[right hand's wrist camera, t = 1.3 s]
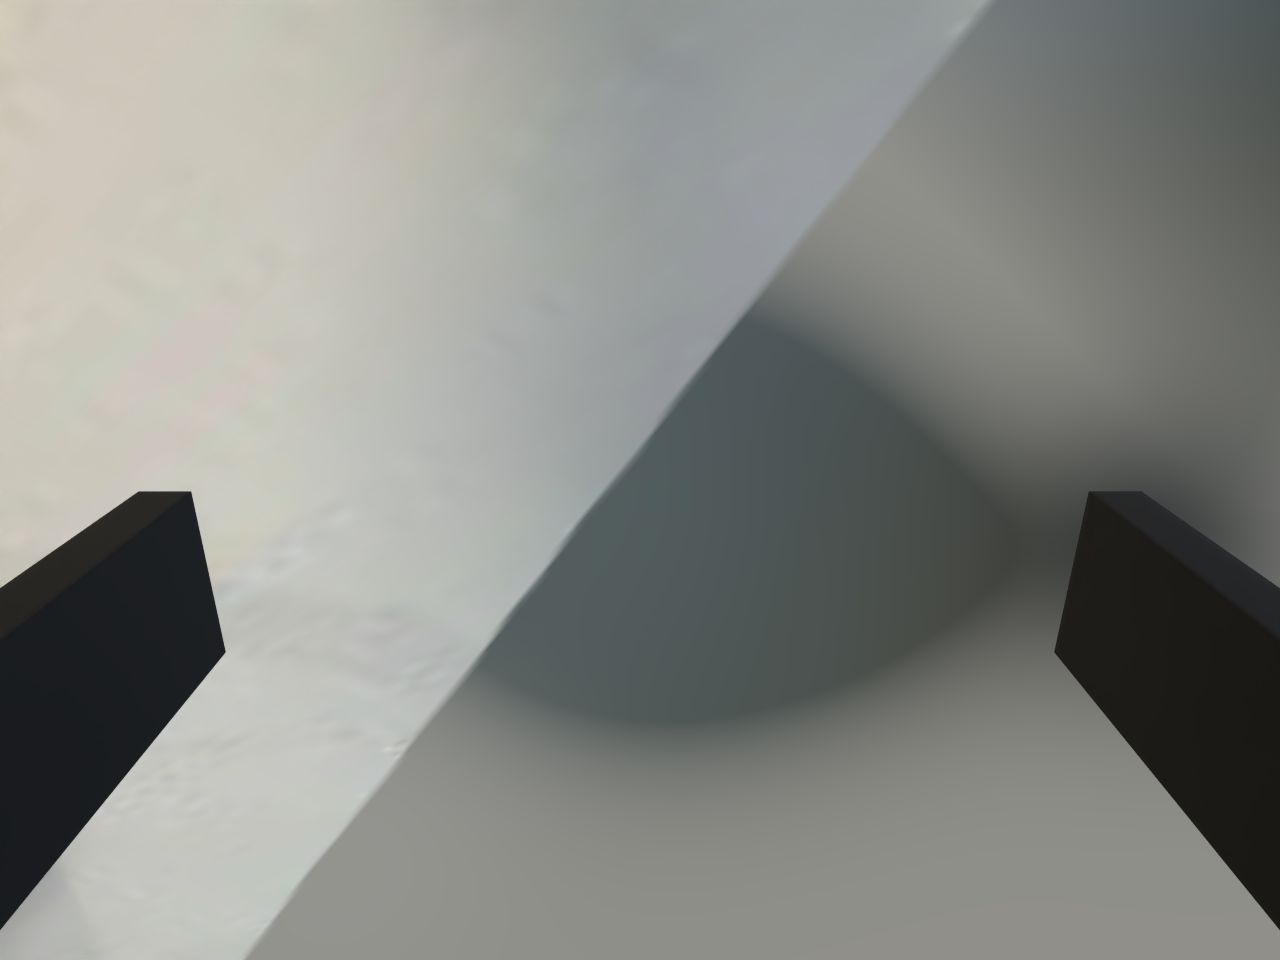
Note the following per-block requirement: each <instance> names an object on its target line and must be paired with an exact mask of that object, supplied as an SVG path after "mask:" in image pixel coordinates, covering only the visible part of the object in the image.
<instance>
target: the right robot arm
mask: <svg viewBox="0 0 1280 960" xmlns="http://www.w3.org/2000/svg"><path fill="white" fill-rule="evenodd" d="M225 652H226V651H225V647H224V642H223V638H222V633H221V628H220V624H219V619H218V614H217V610H216V605H215V600H214V596H213V591H212V586H211V582H210V577H209V572H208V568H207V563H206V558H205V554H204V549H203V545H202V540H201V535H200V531H199V526H198V521H197V517H196V512H195V507H194V503H193V498H192V493H191V492H137V493H136V494H134V495H133V496H132V497H130V498H129V499H127V500H126V501H124V502H123V503H122V504H120V505H119V506H117V507H116V508H114V509H113V510H112V511H110V512H109V513H107V514H106V515H104V516H103V517H101V518H100V519H99V520H97V521H96V522H94V523H93V524H91V525H90V526H89V527H87V528H86V529H84V530H83V531H81V532H80V533H79V534H77V535H76V536H74V537H73V538H71V539H70V540H69V541H67V542H66V543H64V544H63V545H61V546H60V547H59V548H57V549H56V550H54V551H53V552H51V553H50V554H49V555H47V556H46V557H44V558H43V559H41V560H40V561H38V562H37V563H36V564H34V565H33V566H31V567H30V568H28V569H27V570H26V571H24V572H23V573H21V574H20V575H18V576H17V577H16V578H14V579H13V580H11V581H10V582H8V583H7V584H6V585H4V586H3V587H1V588H0V930H1V928H2V927H3V926H4V925H5V923H6V922H7V921H8V920H9V919H10V917H11V916H12V915H13V914H14V912H15V911H16V910H17V909H18V907H19V906H20V905H21V904H22V903H23V901H24V900H25V899H26V898H27V896H28V895H29V894H30V893H31V891H32V890H33V889H34V888H35V887H36V885H37V884H38V883H39V882H40V880H41V879H42V878H43V877H44V875H45V874H46V873H47V872H48V870H49V869H50V868H51V867H52V866H53V864H54V863H55V862H56V861H57V859H58V858H59V857H60V856H61V854H62V853H63V852H64V851H65V850H66V848H67V847H68V846H69V845H70V843H71V842H72V841H73V840H74V838H75V837H76V836H77V835H78V834H79V832H80V831H81V830H82V829H83V827H84V826H85V825H86V824H87V822H88V821H89V820H90V819H91V817H92V816H93V815H94V814H95V813H96V811H97V810H98V809H99V808H100V806H101V805H102V804H103V803H104V801H105V800H106V799H107V798H108V797H109V795H110V794H111V793H112V792H113V790H114V789H115V788H116V787H117V785H118V784H119V783H120V782H121V781H122V779H123V778H124V777H125V776H126V774H127V773H128V772H129V771H130V769H131V768H132V767H133V766H134V765H135V763H136V762H137V761H138V760H139V758H140V757H141V756H142V755H143V753H144V752H145V751H146V750H147V748H148V747H149V746H150V745H151V744H152V742H153V741H154V740H155V739H156V737H157V736H158V735H159V734H160V732H161V731H162V730H163V729H164V728H165V726H166V725H167V724H168V723H169V721H170V720H171V719H172V718H173V716H174V715H175V714H176V713H177V712H178V710H179V709H180V708H181V707H182V705H183V704H184V703H185V702H186V700H187V699H188V698H189V697H190V695H191V694H192V693H193V692H194V691H195V689H196V688H197V687H198V686H199V684H200V683H201V682H202V681H203V679H204V678H205V677H206V676H207V675H208V673H209V672H210V671H211V670H212V668H213V667H214V666H215V665H216V663H217V662H218V661H219V660H220V659H221V657H222V656H223V655H224V654H225ZM1055 654H1056V655H1057V656H1058V657H1059V658H1060V660H1061V661H1062V662H1063V663H1064V665H1065V666H1066V667H1067V668H1068V670H1069V671H1070V672H1071V673H1072V674H1073V676H1074V677H1075V678H1076V679H1077V681H1078V682H1079V683H1080V684H1081V686H1082V687H1083V688H1084V689H1085V691H1086V692H1087V693H1088V694H1089V695H1090V697H1091V698H1092V699H1093V700H1094V702H1095V703H1096V704H1097V705H1098V707H1099V708H1100V709H1101V710H1102V711H1103V713H1104V714H1105V715H1106V716H1107V718H1108V719H1109V720H1110V721H1111V723H1112V724H1113V725H1114V726H1115V728H1116V729H1117V730H1118V731H1119V732H1120V734H1121V735H1122V736H1123V737H1124V739H1125V740H1126V741H1127V742H1128V744H1129V745H1130V746H1131V747H1132V748H1133V750H1134V751H1135V752H1136V753H1137V755H1138V756H1139V757H1140V758H1141V760H1142V761H1143V762H1144V763H1145V764H1146V766H1147V767H1148V768H1149V769H1150V771H1151V772H1152V773H1153V774H1154V775H1155V777H1156V778H1157V779H1158V781H1159V782H1160V783H1161V784H1162V785H1163V787H1164V788H1165V789H1166V790H1167V792H1168V793H1169V794H1170V795H1171V797H1172V798H1173V799H1174V800H1175V801H1176V803H1177V804H1178V805H1179V806H1180V808H1181V809H1182V810H1183V811H1184V813H1185V814H1186V815H1187V816H1188V817H1189V819H1190V820H1191V821H1192V822H1193V824H1194V825H1195V826H1196V827H1197V829H1198V830H1199V831H1200V832H1201V834H1202V835H1203V836H1204V837H1205V838H1206V840H1207V841H1208V842H1209V843H1210V845H1211V846H1212V847H1213V848H1214V850H1215V851H1216V852H1217V853H1218V854H1219V856H1220V857H1221V858H1222V859H1223V861H1224V862H1225V863H1226V864H1227V866H1228V867H1229V868H1230V869H1231V870H1232V872H1233V873H1234V874H1235V875H1236V877H1237V878H1238V879H1239V880H1240V882H1241V883H1242V884H1243V885H1244V886H1245V888H1246V889H1247V890H1248V891H1249V893H1250V894H1251V895H1252V896H1253V898H1254V899H1255V900H1256V901H1257V903H1258V904H1259V905H1260V906H1261V907H1262V909H1263V910H1264V911H1265V912H1266V914H1267V915H1268V916H1269V917H1270V919H1271V920H1272V921H1273V922H1274V923H1275V925H1276V926H1277V927H1278V928H1279V930H1280V588H1279V587H1277V586H1276V585H1274V584H1273V583H1272V582H1270V581H1269V580H1267V579H1266V578H1264V577H1263V576H1262V575H1260V574H1259V573H1257V572H1256V571H1254V570H1253V569H1251V568H1250V567H1249V566H1247V565H1246V564H1244V563H1243V562H1242V561H1240V560H1239V559H1237V558H1236V557H1234V556H1233V555H1231V554H1230V553H1229V552H1227V551H1226V550H1224V549H1223V548H1221V547H1220V546H1219V545H1217V544H1216V543H1214V542H1213V541H1211V540H1210V539H1209V538H1207V537H1206V536H1204V535H1203V534H1201V533H1200V532H1199V531H1197V530H1196V529H1194V528H1193V527H1191V526H1190V525H1189V524H1187V523H1186V522H1184V521H1183V520H1181V519H1180V518H1179V517H1177V516H1176V515H1174V514H1173V513H1171V512H1170V511H1168V510H1167V509H1165V508H1164V507H1163V506H1161V505H1160V504H1158V503H1157V502H1156V501H1154V500H1153V499H1151V498H1150V497H1148V496H1147V495H1146V494H1144V493H1143V492H1089V494H1088V498H1087V503H1086V507H1085V512H1084V517H1083V521H1082V526H1081V531H1080V535H1079V540H1078V545H1077V549H1076V554H1075V559H1074V563H1073V568H1072V573H1071V577H1070V582H1069V586H1068V591H1067V596H1066V600H1065V605H1064V610H1063V614H1062V619H1061V624H1060V628H1059V633H1058V638H1057V642H1056V647H1055Z"/></svg>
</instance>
